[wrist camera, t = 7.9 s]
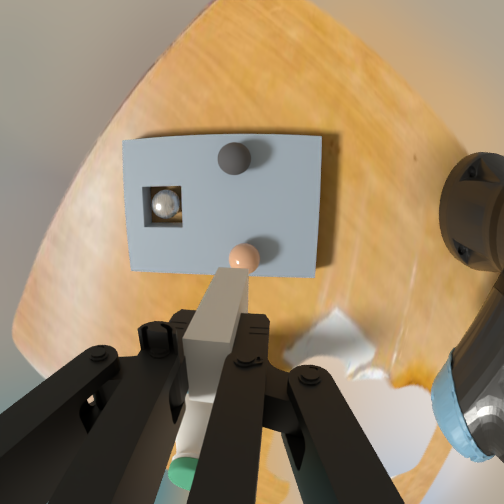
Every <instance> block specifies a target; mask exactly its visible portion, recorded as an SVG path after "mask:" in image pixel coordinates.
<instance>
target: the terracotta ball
mask: <svg viewBox="0 0 504 504" xmlns="http://www.w3.org/2000/svg"><path fill="white" fill-rule="evenodd" d="M229 264H230V266H231V268H245V269H249V274H250V273H252V272H254V271H255V270H256V269H257V268H258V266H259V264H260V254H259V252H258V250H257V249H256V248H255V247H254V246H253V245H251V244H248V243H241V244H238V245H236V246H235V247H233V249H232V250H231V251H230V254H229Z"/></svg>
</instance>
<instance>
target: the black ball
mask: <svg viewBox="0 0 504 504" xmlns="http://www.w3.org/2000/svg"><path fill="white" fill-rule="evenodd" d="M250 163H251V154H250V152H249V150H248V148H247V147H246V146H245V145H243V144H241V143H237V142H232V143H228V144H226V145H224V146H223V147H222V148H221V149H220V151H219V153H218V164H219V167H220V168H221V169H222V171H224V172H225V173H227V174H229V175H239V174H242V173H243V172H245V171H246V170H247V169H248V167H249V166H250Z"/></svg>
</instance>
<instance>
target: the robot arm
mask: <svg viewBox="0 0 504 504" xmlns="http://www.w3.org/2000/svg"><path fill="white" fill-rule="evenodd" d="M439 222H440V229H441V233H442V237H443V240H444V242H445V244H446V246H447V248H448V250H449V251H450V253H451V254H452V255H453V256H454V257H455V258H456V259H458V260H459V261H460V262H462V263H463V264H465V265H466V266H468V267H470V268H472V269H475V270H479V271H489V272H499V273H500V276H499V277H498V279H497V281H496V283H495V285H494V286H493V288H492V290H491V292H490V294H489V296H488V298H487V299H486V301H485V303H484V305H483V306H482V308H481V310H480V311H479V313H478V315H477V316H476V318H475V320H474V321H473V323H472V324H471V326H470V327H469V329H468V330H467V332H466V334H465V335H464V337H463V338H462V339H461V341H460V342H459V344H458V345H457V347H455V348H453V349H452V351H451V352H450V354H449V357H448V360H447V361H446V363H445V364H444V366H443V367H442V369H441V370H440V372H439V373H438V375H437V376H436V378H435V380H434V382H433V385H432V389H431V400H432V408H433V412H434V415H435V418H436V420H437V423H438V425H439V427H440V429H441V431H442V432H443V434H444V436H445V437H446V438H447V440H448V441H449V443H450V444H451V445H452V446H453V447H454V449H455V450H456V451H458V452H459V453H460V454H461V455H463V456H464V457H465V458H469V457H470V459H471V461H474V462H484V461H486V460H489V459H491V458H493V457H494V456H495V455H496V456H497V457H498V458H499V459H500V460H501V461H502V462H503V463H504V156H501V155H499V154H495V153H485V152H478V153H474V154H471V155H469V156H467V157H465V158H464V159H462V160H461V161H460V162H459V163H458V164H457V165H456V166H455V167H454V168H453V170H452V171H451V173H450V174H449V176H448V178H447V180H446V182H445V185H444V187H443V191H442V194H441V199H440V206H439ZM248 281H249V269H245V268H226V267H218V269H217V271H216V273H215V275H214V277H213V279H212V281H211V283H210V285H209V287H208V289H207V291H206V293H205V295H204V297H203V299H202V300H201V302H200V304H199V306H198V308H197V310H184V309H181V310H180V311H178V312H177V313H175V314H173V316H172V318H171V319H170V321H169V322H163V321H154V322H149V323H146V324H144V325H142V326H140V327H139V328H138V334H139V340H140V346H141V351H140V352H139V354H138V355H137V356H129V357H118V353H117V351H116V349H115V348H113V347H111V346H107V345H97V346H93V347H90V348H88V349H87V350H85V351H84V352H82V353H81V354H80V355H78V356H77V357H76V358H74V359H73V360H72V361H70V362H69V363H67V364H66V365H65V366H63V367H62V368H61V369H59V370H58V371H57V372H55V373H54V374H53V375H51V376H50V377H49V378H47V379H46V380H45V381H43V382H42V383H41V384H39V385H38V386H37V387H35V388H34V389H33V390H31V391H30V392H29V393H28V394H26V395H25V396H24V397H22V398H21V399H20V400H18V401H17V402H16V403H14V404H13V405H12V406H10V407H9V408H8V409H7V410H5V411H4V412H3V413H1V414H0V504H47V503H48V504H154V502H155V499H156V495H157V492H158V490H159V487H160V484H161V481H162V478H163V475H164V472H165V469H166V466H167V463H168V460H169V457H170V454H171V451H172V449H173V446H174V443H175V440H176V437H177V434H178V431H179V428H180V425H181V422H182V420H183V417H184V414H185V411H186V402H185V397H186V394H187V392H188V393H189V400H192V401H200V402H208V403H213V406H212V410H211V414H210V418H209V421H208V425H207V429H206V433H205V436H204V440H203V444H202V448H201V451H200V455H199V459H198V463H197V466H196V470H195V474H194V478H193V481H192V485H191V489H190V493H189V497H188V500H187V504H255V502H256V492H257V481H258V471H259V460H260V449H261V437H262V427H265V428H268V429H272V430H275V431H278V432H281V436H282V439H283V443H284V446H285V449H286V452H287V455H288V458H289V461H290V464H291V467H292V471H293V474H294V476H295V479H296V483H297V486H298V489H299V492H300V495H301V498H302V501H303V504H405V503H404V501H403V499H402V498H401V496H400V494H399V492H398V491H397V489H396V487H395V485H394V484H393V482H392V480H391V478H390V477H389V475H388V474H387V471H386V470H385V468H384V466H383V464H382V463H381V461H380V459H379V457H378V456H377V454H376V452H375V450H374V449H373V447H372V445H371V443H370V442H369V440H368V438H367V437H366V435H365V433H364V432H363V430H362V428H361V426H360V424H359V423H358V421H357V419H356V417H355V416H354V414H353V412H352V411H351V409H350V407H349V405H348V404H347V402H346V400H345V398H344V397H343V395H342V394H341V392H340V390H339V388H338V386H337V385H336V383H335V381H334V380H333V378H332V376H331V375H330V374H329V373H328V371H327V370H325V369H323V368H321V367H319V366H315V365H301V366H297V367H295V368H294V369H292V370H291V371H290V373H289V372H285V371H282V370H279V369H277V368H275V367H273V366H272V365H271V364H270V362H269V361H268V342H269V325H270V321H269V319H268V318H267V316H266V315H265V314H250V313H248ZM91 395H93V397H94V401H93V402H91V403H88V401H87V399H88V398H89V397H90V396H91Z"/></svg>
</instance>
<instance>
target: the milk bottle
mask: <svg viewBox="0 0 504 504" xmlns="http://www.w3.org/2000/svg"><path fill="white" fill-rule="evenodd" d="M185 402H186V411H185V414H184V417H183V420H182V422H181V425H180V428H179V431H178V434H177V437H176V449H177V452H176V455H174V456H173V458H172V462H171V464H170V467H169V471H168V477H169V479H170V480H171V481H172V482H173V483H174V484H175V485H177V486H179V487H181V488H183V489H186V490H189V491H190V489H191V485H192V481H193V478H194V474H195V470H196V466H197V463H198V459H199V455H200V451H201V448H202V444H203V440H204V436H205V433H206V429H207V425H208V421H209V418H210V414H211V410H212V406H213V403H208V402H200V401H192V400H189V393H188V392H187V394H186V397H185Z"/></svg>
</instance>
